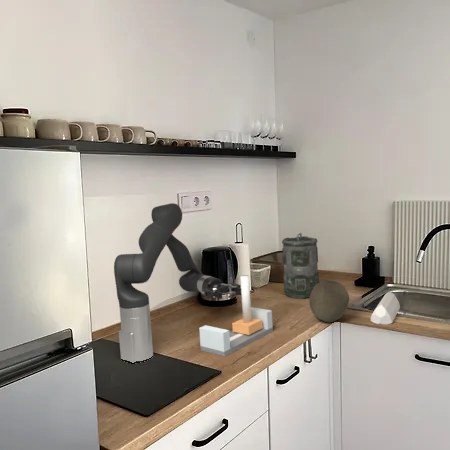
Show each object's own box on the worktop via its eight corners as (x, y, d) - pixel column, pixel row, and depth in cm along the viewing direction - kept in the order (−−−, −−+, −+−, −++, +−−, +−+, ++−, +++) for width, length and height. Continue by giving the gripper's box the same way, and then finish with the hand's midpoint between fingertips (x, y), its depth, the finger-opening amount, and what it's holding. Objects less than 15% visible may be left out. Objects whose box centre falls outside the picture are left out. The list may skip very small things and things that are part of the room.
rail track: (224, 356, 143) (223, 333, 143) (200, 350, 150) (199, 327, 149) (272, 331, 164) (271, 310, 163) (250, 326, 170) (249, 306, 170)
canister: (317, 299, 201) (314, 235, 198) (281, 298, 206) (278, 236, 203) (321, 290, 216) (319, 231, 213) (287, 289, 221) (285, 231, 218)
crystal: (376, 296, 187) (363, 313, 166) (392, 288, 184) (381, 305, 163) (386, 312, 186) (374, 331, 165) (402, 305, 183) (393, 323, 162)
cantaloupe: (342, 329, 162) (340, 287, 160) (304, 324, 170) (302, 284, 168) (354, 317, 174) (353, 278, 172) (318, 313, 181) (317, 275, 180)
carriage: (249, 335, 156) (246, 279, 154) (232, 331, 160) (229, 277, 158) (262, 328, 162) (259, 274, 160) (246, 325, 166) (243, 273, 164)
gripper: (193, 279, 178) (213, 287, 164) (224, 274, 185) (247, 280, 171) (194, 298, 179) (215, 307, 165) (226, 292, 186) (248, 300, 172)
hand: (231, 293), depth 168 cm, fingers open, 8 cm apart
